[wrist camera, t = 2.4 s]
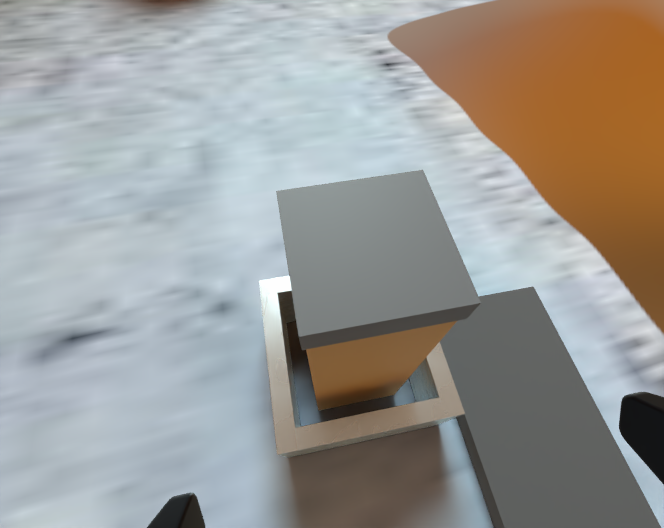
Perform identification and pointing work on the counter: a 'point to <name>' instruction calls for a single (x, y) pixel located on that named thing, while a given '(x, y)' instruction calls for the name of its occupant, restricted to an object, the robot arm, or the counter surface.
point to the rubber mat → (536, 423)
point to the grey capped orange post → (371, 282)
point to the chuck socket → (292, 440)
